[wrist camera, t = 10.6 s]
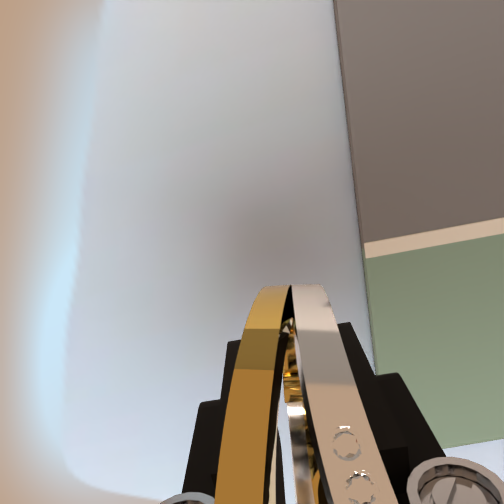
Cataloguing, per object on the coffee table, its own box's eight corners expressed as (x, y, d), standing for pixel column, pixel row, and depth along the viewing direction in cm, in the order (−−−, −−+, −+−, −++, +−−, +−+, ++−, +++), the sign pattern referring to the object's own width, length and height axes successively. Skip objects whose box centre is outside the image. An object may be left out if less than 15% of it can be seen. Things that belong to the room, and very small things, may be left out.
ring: (362, 473, 12) (540, 1129, 4) (247, 477, 12) (212, 1110, 4) (362, 229, 10) (714, 632, 2) (223, 239, 10) (75, 640, 2)
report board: (590, -96, 18) (603, -105, 17) (568, 419, 25) (577, 427, 24) (328, -42, 18) (331, -49, 17) (384, 450, 26) (388, 459, 25)
